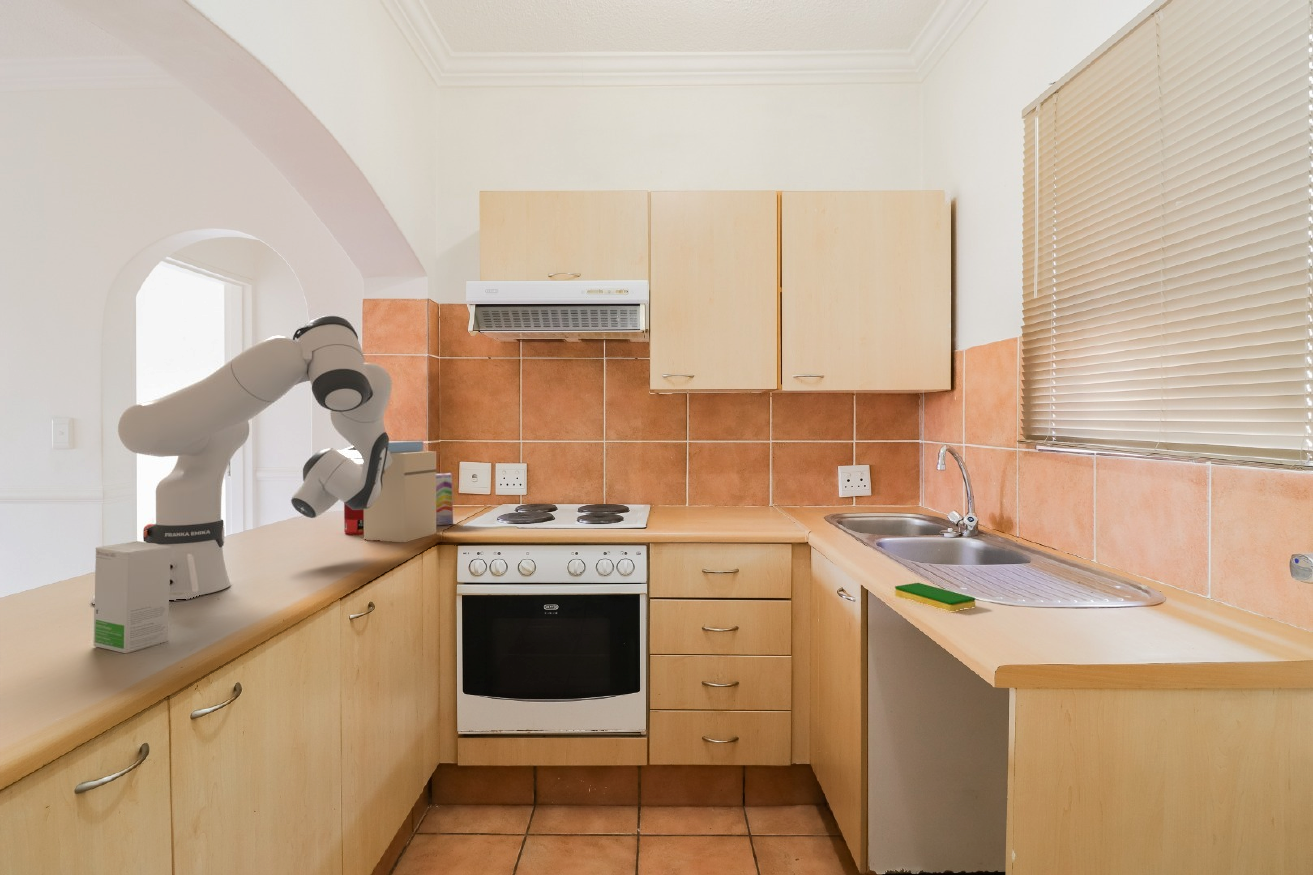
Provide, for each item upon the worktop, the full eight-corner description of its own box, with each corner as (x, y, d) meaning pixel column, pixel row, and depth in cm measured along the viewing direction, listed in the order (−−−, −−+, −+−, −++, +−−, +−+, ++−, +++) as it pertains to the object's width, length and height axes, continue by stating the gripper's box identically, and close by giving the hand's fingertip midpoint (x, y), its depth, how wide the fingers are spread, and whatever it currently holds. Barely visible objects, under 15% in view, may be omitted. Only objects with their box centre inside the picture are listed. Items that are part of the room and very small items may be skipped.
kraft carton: (404, 542, 192) (404, 453, 191) (363, 539, 195) (363, 452, 195) (436, 533, 207) (436, 451, 207) (397, 531, 211) (397, 450, 210)
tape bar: (370, 454, 184) (370, 443, 184) (358, 453, 185) (357, 443, 185) (423, 450, 209) (423, 441, 209) (412, 450, 210) (412, 441, 210)
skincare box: (92, 647, 102) (91, 547, 101) (139, 634, 108) (138, 540, 108) (127, 654, 99) (126, 551, 98) (173, 640, 105) (172, 543, 105)
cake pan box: (392, 528, 217) (392, 475, 217) (393, 526, 222) (393, 474, 222) (453, 525, 224) (453, 473, 224) (452, 523, 229) (452, 472, 229)
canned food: (361, 535, 203) (361, 500, 203) (338, 534, 204) (338, 499, 204) (376, 531, 210) (376, 497, 210) (354, 530, 212) (354, 496, 212)
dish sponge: (951, 615, 124) (951, 602, 124) (893, 597, 136) (893, 585, 136) (976, 610, 127) (976, 597, 127) (917, 593, 139) (918, 582, 139)
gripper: (370, 464, 172) (399, 437, 184) (306, 462, 178) (338, 436, 189) (378, 484, 175) (406, 456, 187) (315, 482, 181) (346, 455, 192)
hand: (371, 446), depth 188 cm, fingers open, 8 cm apart
